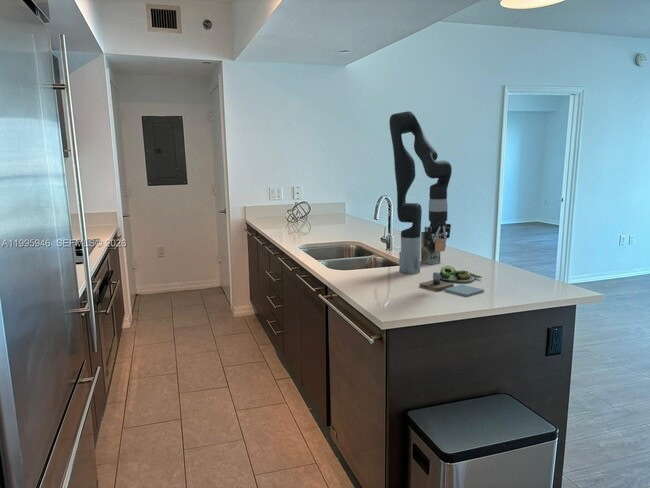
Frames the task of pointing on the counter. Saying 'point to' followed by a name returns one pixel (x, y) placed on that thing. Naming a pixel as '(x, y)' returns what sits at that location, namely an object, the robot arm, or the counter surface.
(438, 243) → the cap
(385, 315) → the counter surface
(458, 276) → the salad plate
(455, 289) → the tile
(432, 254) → the coffee box
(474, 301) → the counter surface
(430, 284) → the post stand
